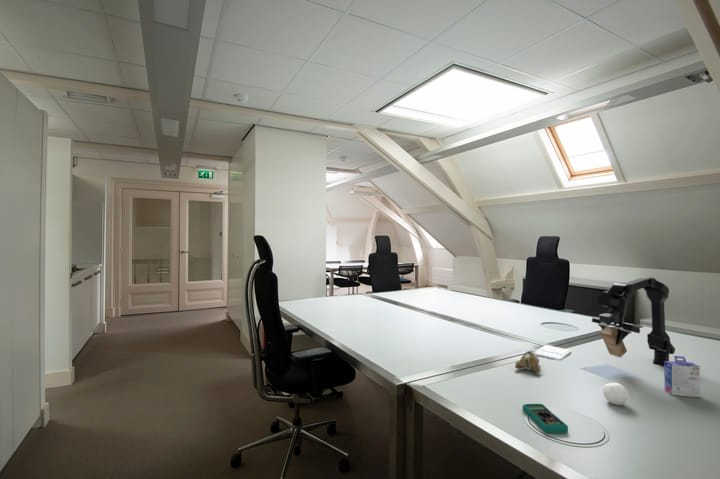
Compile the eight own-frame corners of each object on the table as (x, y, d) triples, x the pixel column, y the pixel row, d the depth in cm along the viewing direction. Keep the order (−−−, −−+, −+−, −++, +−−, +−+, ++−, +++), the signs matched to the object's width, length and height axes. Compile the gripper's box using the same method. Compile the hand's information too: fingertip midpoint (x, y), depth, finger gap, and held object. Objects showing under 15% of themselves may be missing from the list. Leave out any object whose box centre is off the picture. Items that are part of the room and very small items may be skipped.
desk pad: (607, 364, 172) (607, 364, 172) (637, 375, 158) (637, 374, 158) (580, 368, 166) (580, 368, 166) (609, 380, 153) (609, 379, 153)
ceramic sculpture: (543, 348, 168) (539, 359, 156) (543, 366, 168) (539, 378, 156) (519, 344, 174) (513, 354, 162) (519, 361, 174) (513, 373, 162)
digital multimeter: (546, 435, 110) (546, 425, 110) (521, 411, 125) (521, 402, 125) (569, 435, 110) (569, 425, 110) (542, 411, 126) (542, 402, 126)
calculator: (571, 353, 190) (571, 349, 190) (560, 362, 176) (560, 358, 176) (545, 347, 200) (545, 344, 200) (532, 355, 186) (532, 352, 186)
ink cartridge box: (691, 391, 142) (691, 356, 142) (701, 398, 136) (701, 361, 136) (662, 389, 144) (663, 354, 144) (672, 395, 138) (672, 359, 138)
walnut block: (616, 347, 167) (606, 325, 165) (627, 351, 162) (617, 328, 160) (609, 354, 166) (599, 331, 164) (620, 357, 161) (610, 334, 159)
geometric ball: (609, 408, 133) (603, 386, 138) (634, 406, 128) (627, 384, 133) (603, 403, 129) (597, 380, 134) (629, 401, 124) (621, 378, 129)
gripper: (586, 303, 170) (580, 334, 169) (626, 310, 152) (620, 346, 151) (602, 307, 173) (596, 338, 172) (643, 315, 156) (637, 350, 155)
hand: (611, 342), depth 163 cm, fingers closed on walnut block, 5 cm apart
